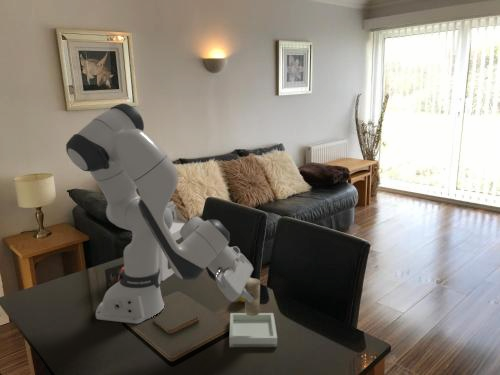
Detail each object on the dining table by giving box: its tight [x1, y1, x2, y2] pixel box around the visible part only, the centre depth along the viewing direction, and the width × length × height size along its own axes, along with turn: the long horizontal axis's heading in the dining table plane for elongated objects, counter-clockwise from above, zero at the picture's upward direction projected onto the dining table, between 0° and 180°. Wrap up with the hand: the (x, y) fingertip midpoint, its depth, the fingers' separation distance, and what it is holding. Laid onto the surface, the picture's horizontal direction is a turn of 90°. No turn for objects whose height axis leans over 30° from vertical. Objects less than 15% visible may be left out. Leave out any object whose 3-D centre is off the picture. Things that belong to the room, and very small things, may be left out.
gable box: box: [158, 200, 188, 282], centre depth 170 cm, size 22×13×28 cm, turn 157°
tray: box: [228, 312, 278, 348], centre depth 126 cm, size 14×14×3 cm
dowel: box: [244, 277, 261, 316], centre depth 123 cm, size 4×4×10 cm
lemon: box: [236, 287, 245, 303], centre depth 145 cm, size 6×6×8 cm
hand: (254, 295), depth 123 cm, fingers closed on dowel, 4 cm apart
